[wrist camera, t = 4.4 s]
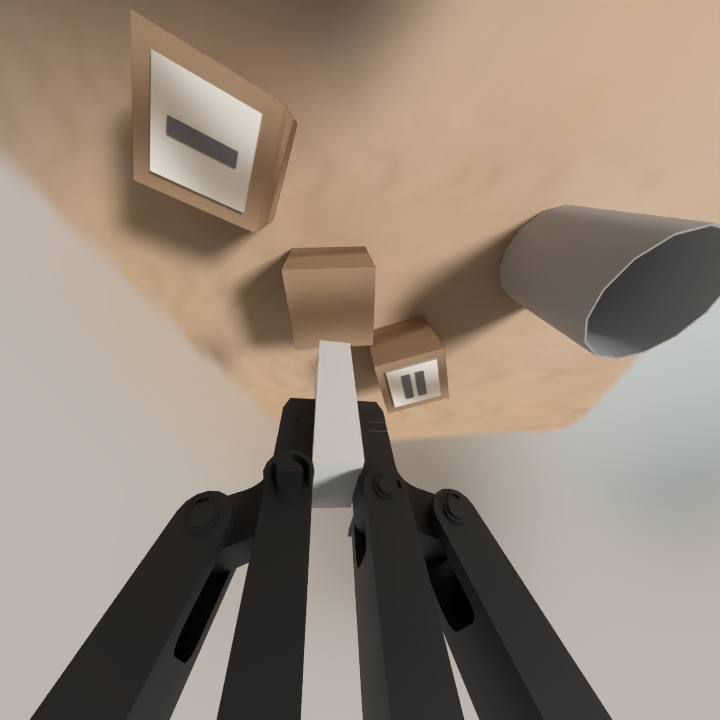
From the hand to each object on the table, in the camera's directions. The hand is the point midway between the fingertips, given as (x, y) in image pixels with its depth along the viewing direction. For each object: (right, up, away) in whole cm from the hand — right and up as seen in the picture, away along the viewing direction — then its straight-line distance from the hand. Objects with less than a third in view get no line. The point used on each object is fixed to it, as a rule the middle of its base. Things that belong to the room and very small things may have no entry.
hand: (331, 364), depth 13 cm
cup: (+18, +10, +10) cm, 23 cm away
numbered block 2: (+6, +2, +14) cm, 16 cm away
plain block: (-1, +7, +10) cm, 12 cm away
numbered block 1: (-7, +14, +4) cm, 16 cm away
